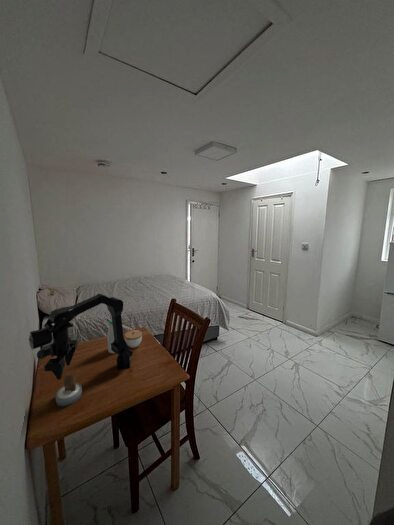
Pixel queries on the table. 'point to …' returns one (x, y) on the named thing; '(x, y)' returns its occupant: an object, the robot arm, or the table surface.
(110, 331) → the milk bottle
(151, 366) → the table surface
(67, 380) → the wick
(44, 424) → the table surface
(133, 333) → the lidded jar
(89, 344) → the table surface
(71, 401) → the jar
